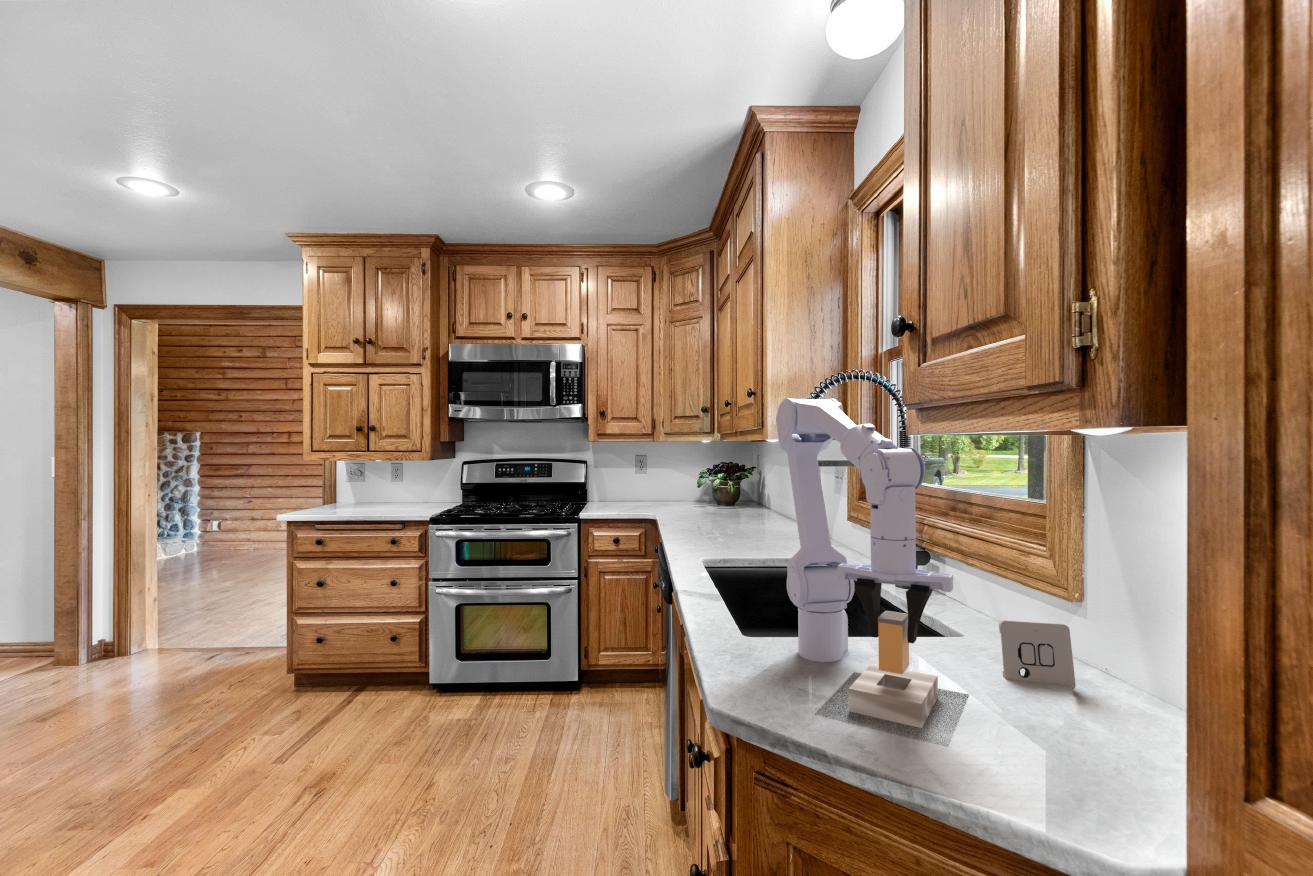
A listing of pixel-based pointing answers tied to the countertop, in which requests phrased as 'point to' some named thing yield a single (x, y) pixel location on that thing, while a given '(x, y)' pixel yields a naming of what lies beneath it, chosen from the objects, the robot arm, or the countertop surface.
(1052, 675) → the electrical switch
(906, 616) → the plug
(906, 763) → the countertop surface
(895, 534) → the robot arm
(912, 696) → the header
